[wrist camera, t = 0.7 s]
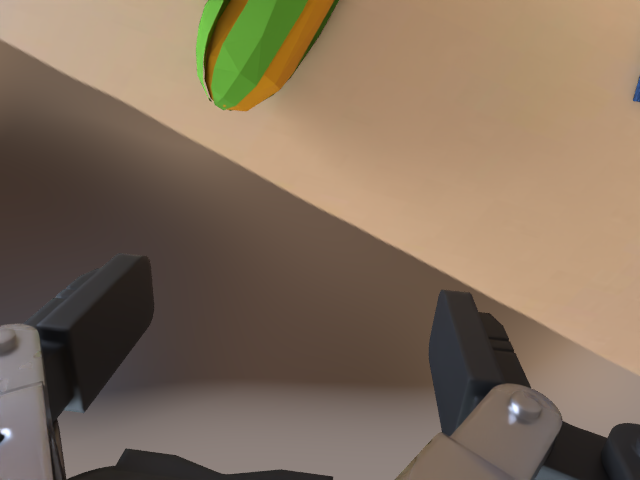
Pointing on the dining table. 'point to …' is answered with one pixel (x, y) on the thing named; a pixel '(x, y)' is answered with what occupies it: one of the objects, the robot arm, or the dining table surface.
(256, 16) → the corn
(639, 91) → the blue rectangular panel
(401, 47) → the dining table surface
